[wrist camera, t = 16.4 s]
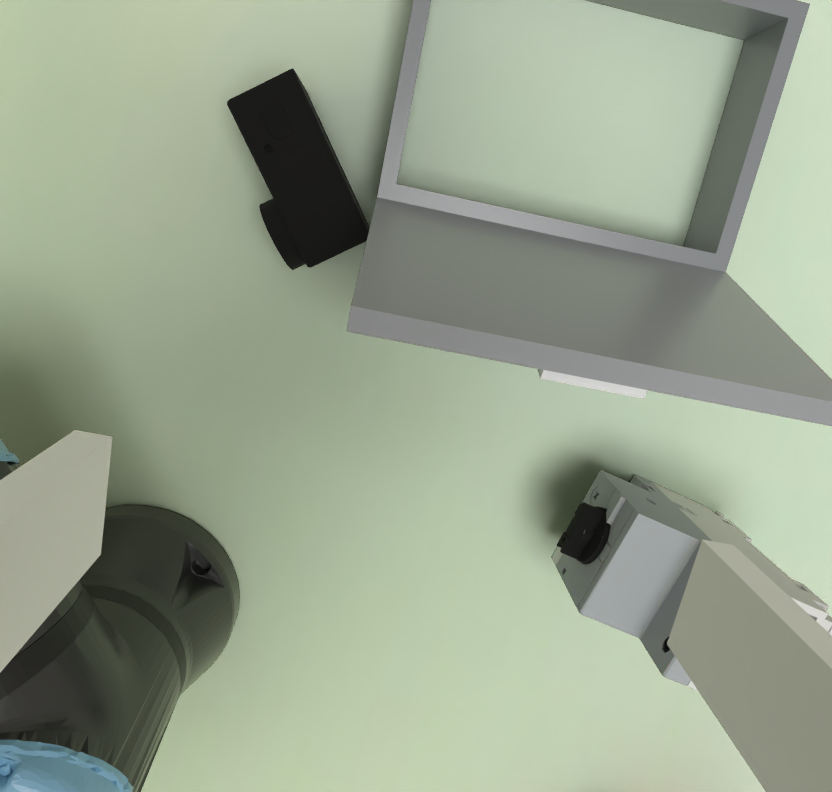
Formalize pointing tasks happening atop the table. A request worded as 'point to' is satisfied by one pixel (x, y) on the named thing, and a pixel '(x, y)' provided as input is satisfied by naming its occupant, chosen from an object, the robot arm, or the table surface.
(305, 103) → the digital camera
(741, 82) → the case
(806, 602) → the circuit breaker
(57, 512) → the robot arm
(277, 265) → the table surface
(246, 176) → the table surface
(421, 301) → the case lid
